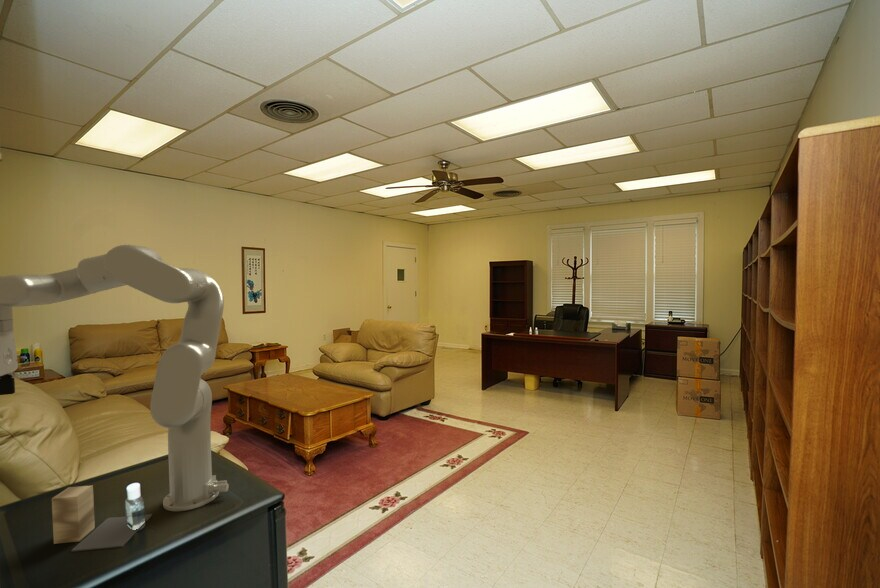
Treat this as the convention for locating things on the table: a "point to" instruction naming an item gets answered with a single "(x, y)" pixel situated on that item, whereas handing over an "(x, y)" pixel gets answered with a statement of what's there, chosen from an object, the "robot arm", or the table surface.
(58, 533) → the maple block
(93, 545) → the mat
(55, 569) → the table surface
